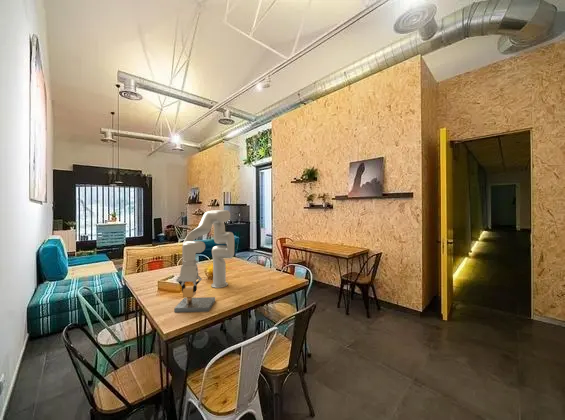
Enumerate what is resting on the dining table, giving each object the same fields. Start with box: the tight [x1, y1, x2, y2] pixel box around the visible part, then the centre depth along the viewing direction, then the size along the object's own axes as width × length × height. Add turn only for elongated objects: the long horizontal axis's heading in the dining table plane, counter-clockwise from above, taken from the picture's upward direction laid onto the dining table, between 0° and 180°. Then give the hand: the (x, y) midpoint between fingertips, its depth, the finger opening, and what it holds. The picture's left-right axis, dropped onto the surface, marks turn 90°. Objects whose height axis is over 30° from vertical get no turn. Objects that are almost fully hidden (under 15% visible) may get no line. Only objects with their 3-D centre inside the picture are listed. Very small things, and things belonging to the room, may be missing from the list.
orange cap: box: [182, 285, 197, 298], centre depth 149 cm, size 6×6×5 cm
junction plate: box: [173, 296, 216, 313], centre depth 149 cm, size 16×20×6 cm
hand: (189, 291), depth 149 cm, fingers closed on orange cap, 6 cm apart
